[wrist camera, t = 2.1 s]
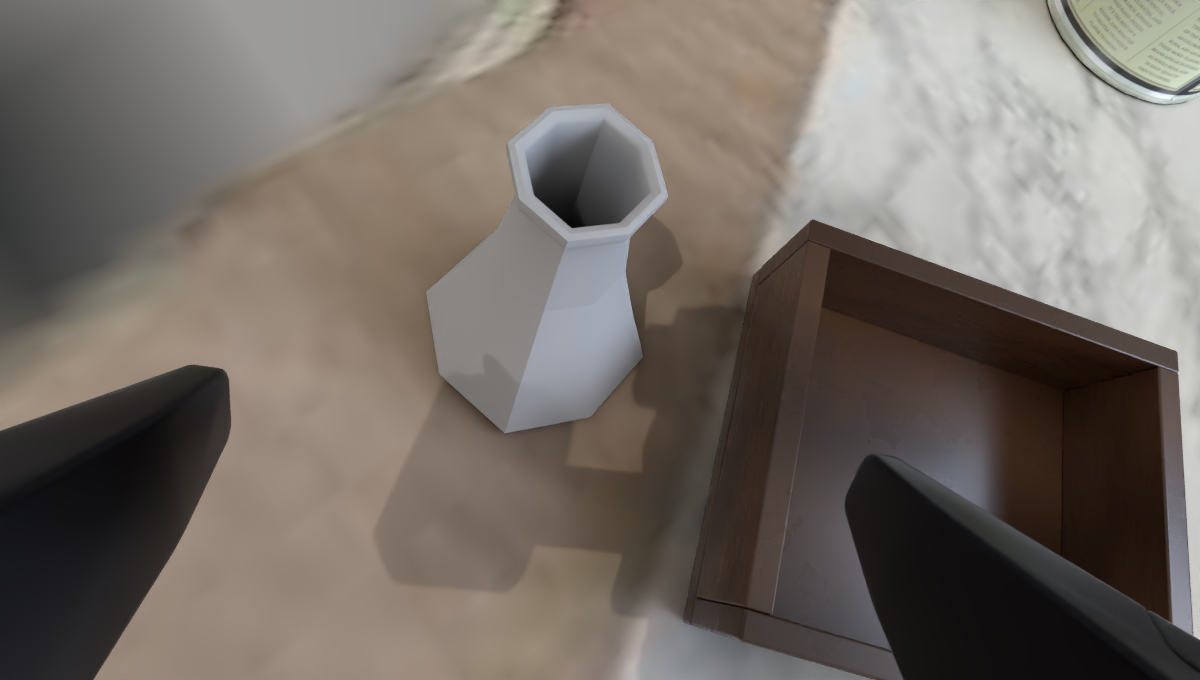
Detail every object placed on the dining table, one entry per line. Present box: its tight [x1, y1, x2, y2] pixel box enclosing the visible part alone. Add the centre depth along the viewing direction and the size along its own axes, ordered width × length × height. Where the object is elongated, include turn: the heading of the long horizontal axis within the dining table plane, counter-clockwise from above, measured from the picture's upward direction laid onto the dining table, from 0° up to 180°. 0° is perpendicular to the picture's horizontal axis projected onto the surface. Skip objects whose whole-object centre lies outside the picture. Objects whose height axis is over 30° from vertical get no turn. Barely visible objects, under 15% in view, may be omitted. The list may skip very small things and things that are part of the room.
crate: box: [683, 220, 1193, 680], centre depth 21 cm, size 13×14×4 cm
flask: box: [426, 103, 668, 433], centre depth 18 cm, size 7×7×10 cm
